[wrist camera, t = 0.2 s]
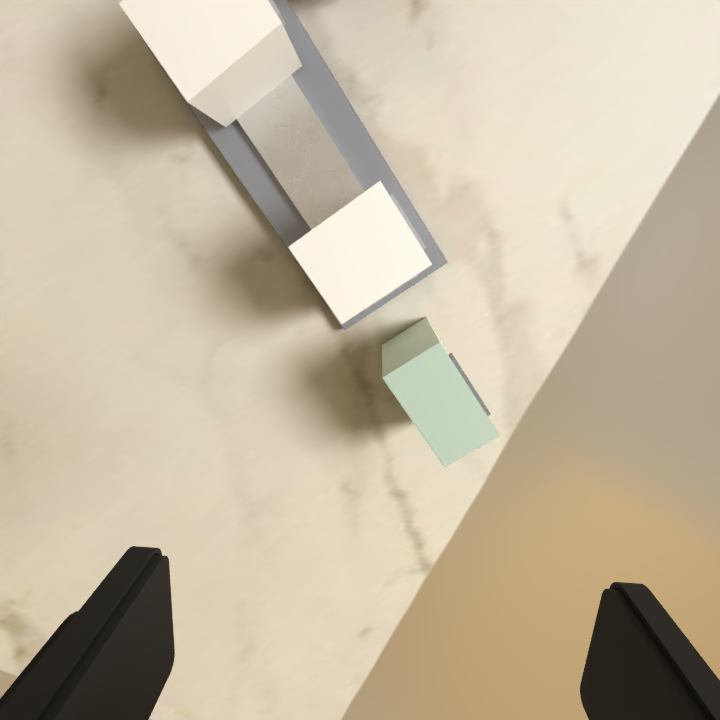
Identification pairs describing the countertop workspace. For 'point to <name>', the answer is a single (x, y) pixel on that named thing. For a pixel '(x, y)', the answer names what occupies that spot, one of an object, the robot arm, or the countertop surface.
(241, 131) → the board
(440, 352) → the block
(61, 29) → the countertop surface
